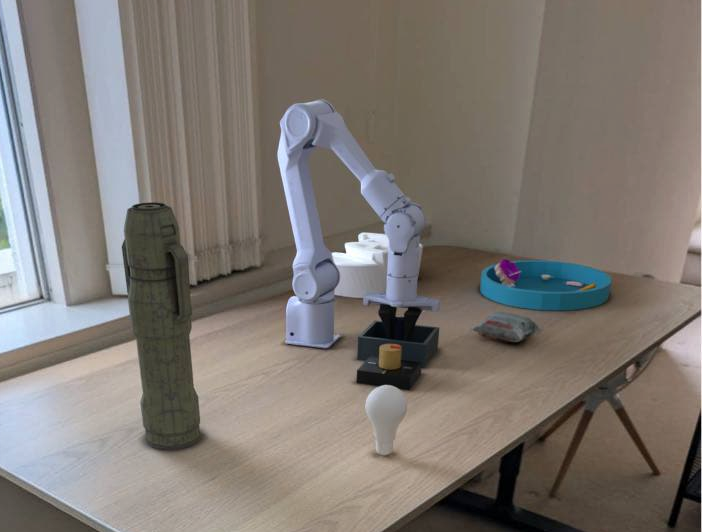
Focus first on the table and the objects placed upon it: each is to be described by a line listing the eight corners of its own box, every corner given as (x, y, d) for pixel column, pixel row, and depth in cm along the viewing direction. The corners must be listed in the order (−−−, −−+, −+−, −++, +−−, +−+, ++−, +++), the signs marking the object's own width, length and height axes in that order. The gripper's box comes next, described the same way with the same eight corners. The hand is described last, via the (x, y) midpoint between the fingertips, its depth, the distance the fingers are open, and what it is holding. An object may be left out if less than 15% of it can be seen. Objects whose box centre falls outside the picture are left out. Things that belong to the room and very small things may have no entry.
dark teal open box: (357, 359, 157) (357, 336, 155) (373, 342, 166) (374, 320, 163) (424, 368, 153) (425, 344, 150) (437, 349, 161) (439, 327, 159)
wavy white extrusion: (365, 307, 186) (366, 260, 181) (306, 296, 195) (306, 251, 189) (434, 273, 211) (437, 231, 205) (379, 265, 219) (381, 224, 213)
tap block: (356, 383, 147) (356, 369, 145) (369, 368, 153) (370, 354, 152) (409, 390, 144) (410, 376, 142) (421, 374, 150) (422, 360, 149)
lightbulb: (360, 446, 125) (363, 379, 119) (399, 444, 125) (403, 377, 119) (367, 464, 120) (369, 395, 114) (407, 462, 120) (412, 393, 114)
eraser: (392, 350, 160) (394, 316, 156) (403, 350, 160) (405, 316, 156) (392, 353, 158) (394, 319, 155) (404, 353, 158) (406, 319, 154)
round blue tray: (509, 270, 213) (512, 247, 210) (625, 286, 198) (629, 262, 195) (459, 297, 192) (461, 272, 189) (583, 318, 177) (588, 291, 174)
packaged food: (520, 350, 160) (523, 326, 158) (467, 338, 167) (470, 315, 164) (540, 339, 166) (543, 316, 163) (488, 328, 172) (491, 305, 170)
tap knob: (375, 368, 146) (376, 347, 144) (382, 360, 149) (383, 340, 147) (397, 370, 145) (398, 350, 143) (403, 363, 148) (404, 343, 146)
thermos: (185, 457, 122) (162, 215, 104) (127, 440, 128) (94, 207, 109) (220, 435, 129) (203, 203, 110) (163, 420, 134) (138, 196, 116)
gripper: (358, 276, 150) (357, 346, 157) (435, 282, 146) (429, 355, 153) (370, 267, 156) (368, 335, 163) (444, 273, 151) (438, 343, 158)
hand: (398, 344), depth 158 cm, fingers closed on eraser, 2 cm apart
